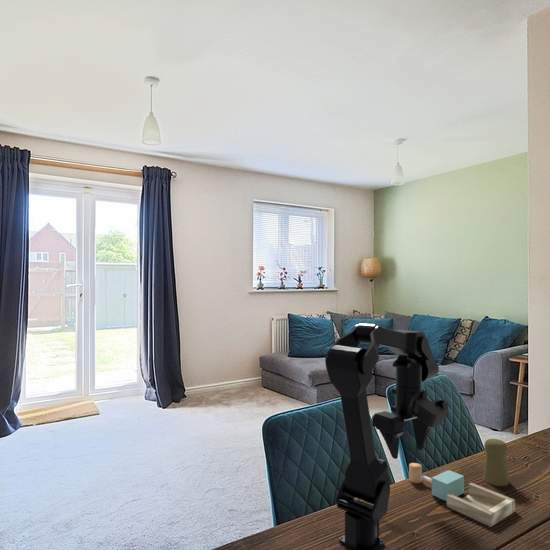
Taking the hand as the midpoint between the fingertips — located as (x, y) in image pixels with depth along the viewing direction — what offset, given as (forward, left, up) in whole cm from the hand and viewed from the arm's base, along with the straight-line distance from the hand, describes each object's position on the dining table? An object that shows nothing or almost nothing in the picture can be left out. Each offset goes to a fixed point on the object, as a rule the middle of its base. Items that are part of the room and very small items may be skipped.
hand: (407, 453), depth 103 cm
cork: (+25, -7, -12) cm, 29 cm away
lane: (+9, -12, -12) cm, 19 cm away
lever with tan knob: (+9, 0, -11) cm, 15 cm away
